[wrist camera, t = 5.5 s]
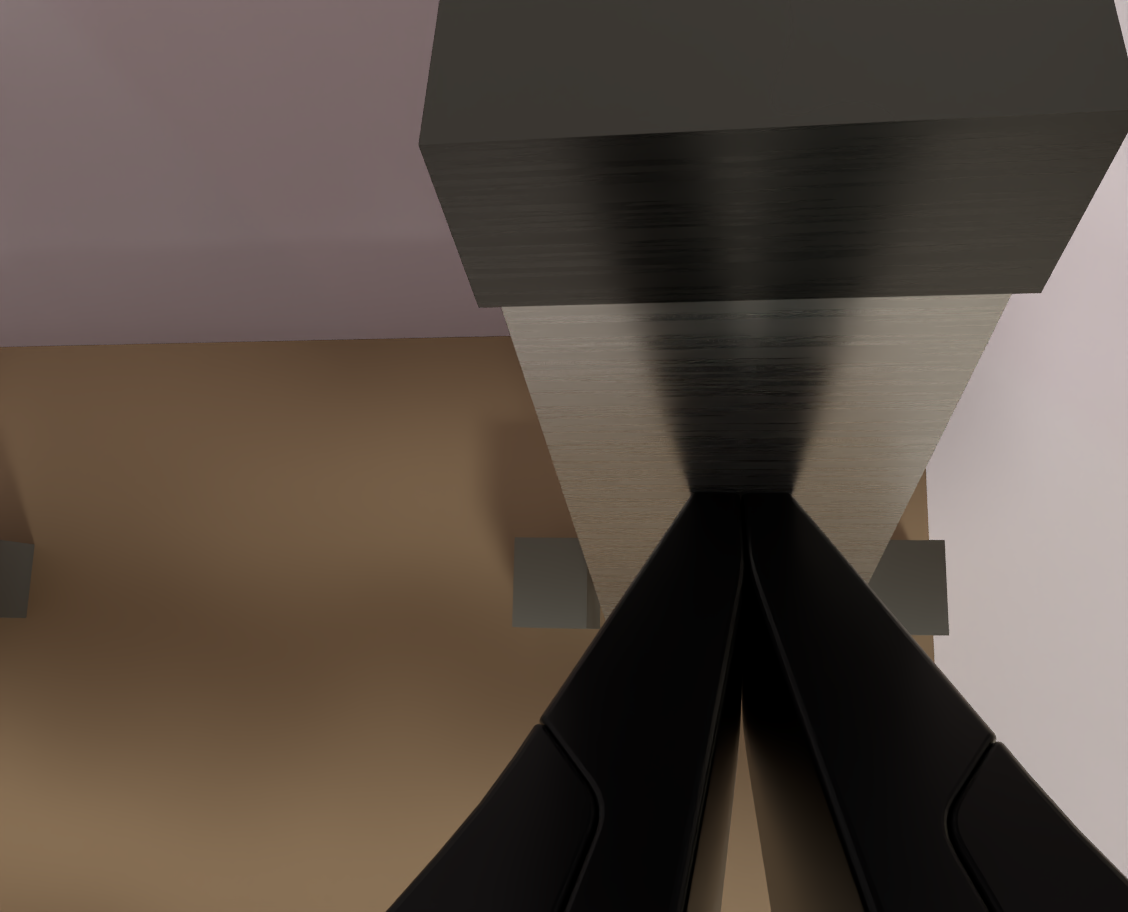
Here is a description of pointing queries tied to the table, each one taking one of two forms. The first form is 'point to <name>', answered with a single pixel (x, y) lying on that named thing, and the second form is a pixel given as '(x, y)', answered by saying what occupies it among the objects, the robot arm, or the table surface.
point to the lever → (760, 232)
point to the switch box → (291, 618)
